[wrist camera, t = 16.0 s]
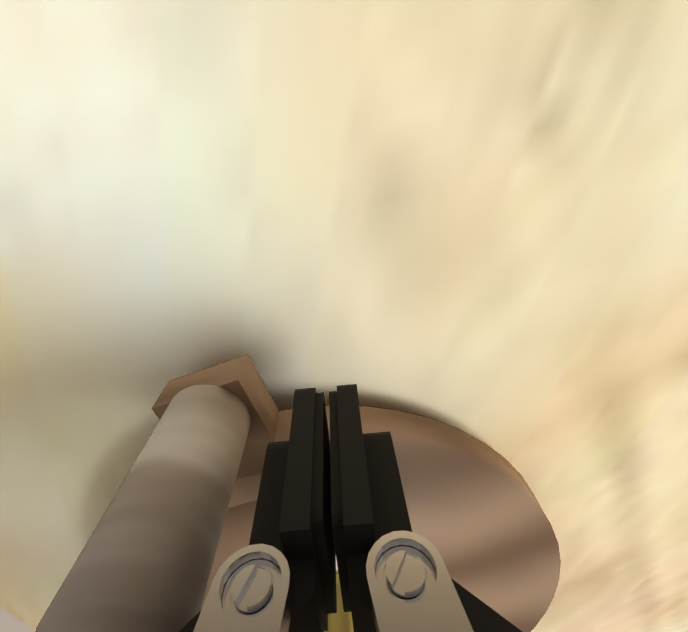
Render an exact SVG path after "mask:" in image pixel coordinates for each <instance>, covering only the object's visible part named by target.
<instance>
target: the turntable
mask: <svg viewBox="0 0 688 632" xmlns="http://www.w3.org/2000/svg"><path fill="white" fill-rule="evenodd" d="M359 409H360V417H361V425H362V433H363V434H366V433H377V432H388V431H390V433H391V437H392V441H393V446H394V450H395V455H396V459H397V464H398V469H399V473H400V478H401V482H402V487H403V492H404V496H405V501H406V505H407V510H408V515H409V519H410V524H411V528H412V532H414V533H417V534H419V535H421V536H423V537H424V538H426V539H428V540H429V541H430V542H431V543H432V544H433V545H434V546H435V547H436V549H437V550H438V552H439V554H440V555H441V557H442V559H443V561H444V563H445V566H446V568H447V570H448V573H449V575H450V577H451V578H452V579H453V580H454V581H456V582H457V583H458V584H460V585H461V586H462V587H464V588H465V589H466V590H468V591H469V592H470V593H472V594H473V595H474V596H476V597H477V598H478V599H480V600H481V601H482V602H484V603H485V604H486V605H488V606H489V607H490V608H492V609H493V610H494V611H496V612H497V613H498V614H500V615H501V616H502V617H504V618H505V619H506V620H508V621H509V622H510V623H512V624H513V625H514V626H516V627H517V628H518V629H520V630H521V631H522V632H531V631H532V630H533V629H534V627H535V626H536V625H537V623H538V622H539V621H540V619H541V618H542V617H543V615H544V614H545V613H546V611H547V609H548V607H549V605H550V603H551V601H552V599H553V597H554V594H555V591H556V588H557V585H558V581H559V574H560V563H561V561H560V554H559V547H558V542H557V539H556V537H555V534H554V531H553V529H552V526H551V524H550V522H549V521H548V519H547V517H546V515H545V514H544V512H543V510H542V508H541V507H540V505H539V503H538V501H537V500H536V498H535V496H534V494H533V493H532V491H531V490H530V488H529V486H528V485H527V483H526V482H525V480H524V479H523V477H522V476H521V474H520V473H519V472H518V471H517V470H516V469H515V468H514V467H513V466H512V465H511V464H510V463H509V462H508V461H507V460H506V459H505V458H504V457H503V456H501V455H500V454H499V453H497V452H496V451H495V450H493V449H492V448H491V447H489V446H488V445H487V444H485V443H484V442H482V441H480V440H478V439H476V438H475V437H473V436H471V435H469V434H467V433H465V432H464V431H462V430H459V429H457V428H454V427H452V426H449V425H447V424H444V423H441V422H439V421H436V420H434V419H430V418H426V417H422V416H418V415H415V414H411V413H407V412H403V411H397V410H390V409H382V408H375V407H368V406H359ZM152 410H153V411H154V412H155V414H156V415H157V416H158V418H159V419H160V421H159V422H158V424H157V426H156V427H155V429H154V431H153V432H152V434H151V436H150V438H149V439H148V441H147V443H146V444H145V446H144V448H143V449H142V451H141V453H140V454H139V456H138V458H137V459H136V461H135V463H134V464H133V466H132V468H131V470H130V471H129V473H128V475H127V476H126V478H125V480H124V481H123V483H122V485H121V486H120V488H119V490H118V491H117V493H116V495H115V496H114V498H113V500H112V502H111V503H110V505H109V507H108V508H107V510H106V512H105V513H104V515H103V517H102V518H101V520H100V522H99V523H98V525H97V527H96V528H95V530H94V532H93V534H92V535H91V537H90V539H89V540H88V542H87V544H86V545H85V547H84V549H83V550H82V552H81V554H80V555H79V557H78V559H77V560H76V562H75V564H74V566H73V567H72V569H71V571H70V572H69V574H68V576H67V577H66V579H65V581H64V582H63V584H62V586H61V587H60V589H59V591H58V592H57V594H56V596H55V598H54V599H53V601H52V603H51V604H50V606H49V608H48V609H47V611H46V613H45V614H44V616H43V618H42V619H41V621H40V623H39V624H38V626H37V628H36V632H179V631H180V630H181V629H182V628H183V627H184V626H185V625H186V624H187V623H188V622H189V621H190V620H191V619H192V618H193V617H195V616H196V615H197V614H198V613H199V612H200V611H201V610H202V608H203V605H204V602H205V600H206V597H207V594H208V592H209V589H210V587H211V584H212V581H213V579H214V577H215V575H216V573H217V572H218V570H219V568H220V567H221V565H222V564H223V563H224V562H225V561H226V560H227V559H228V557H230V556H231V555H232V554H234V553H235V552H237V551H238V550H239V549H242V548H244V547H247V546H249V542H250V537H251V531H252V526H253V520H254V515H255V509H256V504H257V498H258V492H259V487H260V481H261V476H262V470H263V465H264V459H265V454H266V449H267V445H268V443H269V442H279V441H289V437H290V428H291V419H292V411H293V409H289V410H283V411H279V410H278V408H277V406H276V404H275V402H274V401H273V399H272V397H271V395H270V393H269V392H268V390H267V388H266V386H265V384H264V383H263V381H262V379H261V377H260V376H259V374H258V372H257V370H256V368H255V367H254V365H253V363H252V361H251V359H250V358H249V356H248V354H247V355H244V356H241V357H238V358H235V359H232V360H229V361H226V362H223V363H220V364H217V365H214V366H211V367H208V368H206V369H203V370H200V371H197V372H194V373H191V374H188V375H185V376H182V377H179V378H176V379H173V380H170V381H169V383H168V384H167V386H166V387H165V389H164V390H163V392H162V393H161V395H160V396H159V398H158V400H157V401H156V403H155V404H154V406H153V407H152ZM326 414H327V422H328V430H329V438H330V410H329V406H326ZM336 573H338V567H337V560H336Z"/></svg>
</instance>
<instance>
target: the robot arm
mask: <svg viewBox="0 0 688 632" xmlns="http://www.w3.org/2000/svg"><path fill="white" fill-rule="evenodd" d="M329 410H330V438H329V430H328V422H327V414H326V406H325V398H324V393H316V388H308V389H297V390H295V393H294V402H293V411H292V419H291V428H290V437H289V441H279V442H269V443H268V445H267V449H266V454H265V459H264V465H263V470H262V476H261V481H260V487H259V492H258V498H257V504H256V509H255V515H254V520H253V526H252V531H251V537H250V542H249V546H247V547H244V548H242V549H239V550H238V551H237V552H235V553H234V554H232V555H231V556H230V557H228V559H227V560H226V561H225V562H224V563H223V564H222V565H221V567H220V568H219V570H218V572H217V573H216V575H215V577H214V579H213V581H212V584H211V587H210V589H209V592H208V594H207V597H206V600H205V602H204V605H203V608H202V610H201V611H200V612H199V613H198V614H197V615H196V616H195V617H193V618H192V619H191V620H190V621H189V622H188V623H187V624H186V625H185V626H184V627H183V628H182V629H181V630H180V631H179V632H324V631H328V614H331V613H337V589H336V560H337V567H338V574H339V581H340V588H341V595H342V602H343V609H344V612H351V613H352V621H353V629H354V632H522V631H521V630H520V629H518V628H517V627H516V626H514V625H513V624H512V623H510V622H509V621H508V620H506V619H505V618H504V617H502V616H501V615H500V614H498V613H497V612H496V611H494V610H493V609H492V608H490V607H489V606H488V605H486V604H485V603H484V602H482V601H481V600H480V599H478V598H477V597H476V596H474V595H473V594H472V593H470V592H469V591H468V590H466V589H465V588H464V587H462V586H461V585H460V584H458V583H457V582H456V581H454V580H453V579H452V578H451V577H450V575H449V573H448V570H447V568H446V566H445V563H444V561H443V559H442V557H441V555H440V554H439V552H438V550H437V549H436V547H435V546H434V545H433V544H432V543H431V542H430V541H429V540H428V539H426V538H424V537H423V536H421V535H419V534H417V533H414V532H412V528H411V524H410V519H409V515H408V510H407V505H406V501H405V496H404V492H403V487H402V482H401V478H400V473H399V469H398V464H397V459H396V455H395V450H394V446H393V441H392V437H391V433H390V431H388V432H377V433H366V434H363V433H362V425H361V417H360V409H359V401H358V393H357V385H356V384H352V385H341V386H337V391H335V392H329Z"/></svg>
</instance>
